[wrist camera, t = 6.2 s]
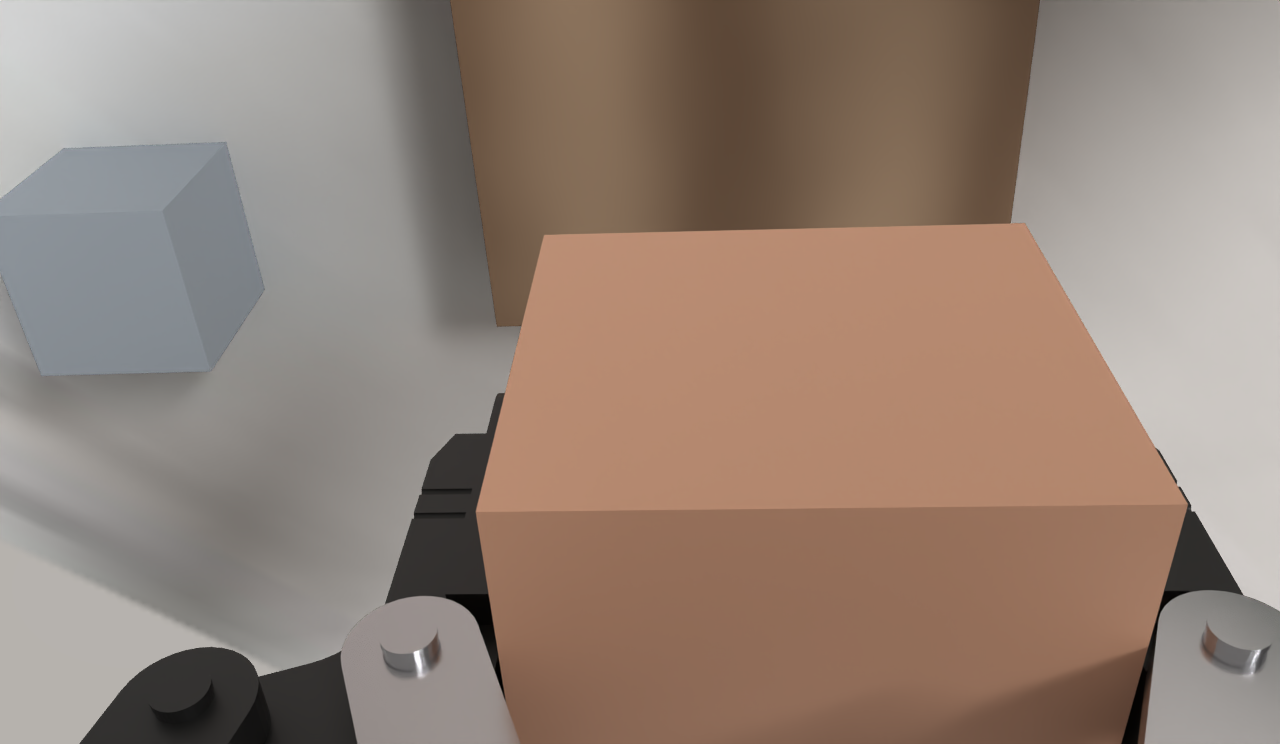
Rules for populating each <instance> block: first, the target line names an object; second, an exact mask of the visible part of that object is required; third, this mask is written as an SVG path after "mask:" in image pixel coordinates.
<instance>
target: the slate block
mask: <svg viewBox="0 0 1280 744" xmlns="http://www.w3.org/2000/svg"><path fill="white" fill-rule="evenodd" d="M0 273H1V276H2V278H3V281H4V283H5V286H6V288H7V291H8V293H9V296H10V298H11V301H12V303H13V306H14V308H15V311H16V313H17V316H18V319H19V321H20V324H21V326H22V329H23V331H24V334H25V336H26V339H27V341H28V344H29V346H30V349H31V351H32V354H33V356H34V359H35V361H36V364H37V366H38V369H39V371H40V374H41V376H59V375H96V374H133V373H171V372H208V371H212V369H213V368H214V366H215V364H216V363H217V361H218V360H219V358H220V357H221V355H222V354H223V352H224V351H225V349H226V348H227V346H228V345H229V343H230V342H231V340H232V339H233V337H234V335H235V334H236V332H237V331H238V329H239V328H240V326H241V325H242V323H243V322H244V320H245V319H246V317H247V316H248V314H249V313H250V311H251V310H252V308H253V306H254V305H255V303H256V302H257V300H258V299H259V297H260V296H261V294H262V293H263V291H264V290H265V289H264V285H263V282H262V278H261V274H260V270H259V266H258V262H257V259H256V255H255V251H254V247H253V243H252V239H251V236H250V232H249V228H248V224H247V220H246V216H245V213H244V209H243V205H242V201H241V197H240V193H239V190H238V186H237V182H236V178H235V174H234V170H233V166H232V163H231V159H230V155H229V151H228V147H227V143H226V142H218V143H192V144H166V145H139V146H113V147H87V148H64V149H62V150H61V151H60V152H59V153H57V154H56V155H55V156H54V157H52V158H51V159H50V160H49V161H47V162H46V163H45V164H44V165H42V166H41V167H40V168H39V169H37V170H36V171H35V172H34V173H32V174H31V175H30V176H29V177H27V178H26V179H25V180H24V181H22V182H21V183H20V184H19V185H17V186H16V187H15V188H14V189H12V190H11V191H10V192H9V193H7V194H6V195H5V196H4V197H2V198H1V199H0Z"/></svg>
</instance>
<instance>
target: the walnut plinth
mask: <svg viewBox="0 0 1280 744" xmlns="http://www.w3.org/2000/svg"><path fill="white" fill-rule="evenodd" d="M450 3H451V10H452V17H453V24H454V31H455V38H456V45H457V52H458V59H459V66H460V73H461V80H462V87H463V94H464V101H465V108H466V115H467V122H468V129H469V136H470V143H471V150H472V157H473V164H474V171H475V178H476V185H477V192H478V199H479V206H480V213H481V220H482V226H483V233H484V240H485V247H486V254H487V261H488V268H489V275H490V282H491V289H492V296H493V303H494V310H495V317H496V324H497V327H502V326H522V322H523V318H524V314H525V310H526V306H527V302H528V298H529V294H530V290H531V286H532V282H533V278H534V274H535V270H536V266H537V262H538V258H539V254H540V249H541V245H542V241H543V237H544V235H559V234H600V233H641V232H682V231H724V230H765V229H806V228H847V227H889V226H930V225H971V224H1010V223H1011V216H1012V208H1013V201H1014V193H1015V186H1016V178H1017V170H1018V163H1019V155H1020V148H1021V140H1022V133H1023V125H1024V117H1025V110H1026V102H1027V95H1028V87H1029V80H1030V72H1031V65H1032V57H1033V49H1034V42H1035V34H1036V27H1037V19H1038V12H1039V4H1040V0H450Z"/></svg>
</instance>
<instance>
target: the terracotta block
mask: <svg viewBox="0 0 1280 744" xmlns="http://www.w3.org/2000/svg"><path fill="white" fill-rule="evenodd" d="M1187 507H1188V503H1187V502H1186V500H1185V498H1184V497H1183V495H1182V493H1181V491H1180V490H1179V488H1178V486H1177V484H1176V483H1175V481H1174V479H1173V478H1172V476H1171V474H1170V472H1169V471H1168V469H1167V467H1166V465H1165V464H1164V462H1163V460H1162V459H1161V457H1160V455H1159V453H1158V452H1157V450H1156V448H1155V447H1154V445H1153V443H1152V441H1151V440H1150V438H1149V436H1148V434H1147V433H1146V431H1145V429H1144V428H1143V426H1142V424H1141V422H1140V421H1139V419H1138V417H1137V416H1136V414H1135V412H1134V410H1133V409H1132V407H1131V405H1130V403H1129V402H1128V400H1127V398H1126V397H1125V395H1124V393H1123V391H1122V390H1121V388H1120V386H1119V385H1118V383H1117V381H1116V379H1115V378H1114V376H1113V374H1112V372H1111V371H1110V369H1109V367H1108V366H1107V364H1106V362H1105V360H1104V359H1103V357H1102V355H1101V354H1100V352H1099V350H1098V348H1097V347H1096V345H1095V343H1094V341H1093V340H1092V338H1091V336H1090V335H1089V333H1088V331H1087V329H1086V328H1085V326H1084V324H1083V322H1082V321H1081V319H1080V317H1079V316H1078V314H1077V312H1076V310H1075V309H1074V307H1073V305H1072V304H1071V302H1070V300H1069V298H1068V297H1067V295H1066V293H1065V291H1064V290H1063V288H1062V286H1061V285H1060V283H1059V281H1058V279H1057V278H1056V276H1055V274H1054V273H1053V271H1052V269H1051V267H1050V266H1049V264H1048V262H1047V260H1046V259H1045V257H1044V255H1043V254H1042V252H1041V250H1040V248H1039V247H1038V245H1037V243H1036V242H1035V240H1034V238H1033V236H1032V235H1031V233H1030V231H1029V229H1028V228H1027V226H1026V224H1025V223H1012V224H971V225H930V226H889V227H847V228H806V229H765V230H724V231H682V232H641V233H600V234H559V235H544V237H543V241H542V245H541V249H540V254H539V258H538V262H537V266H536V270H535V274H534V278H533V282H532V286H531V290H530V294H529V298H528V302H527V306H526V310H525V314H524V318H523V322H522V326H521V330H520V335H519V339H518V343H517V347H516V351H515V355H514V359H513V363H512V367H511V371H510V375H509V379H508V383H507V387H506V391H505V395H504V399H503V403H502V407H501V412H500V416H499V420H498V424H497V428H496V432H495V436H494V440H493V444H492V448H491V452H490V456H489V460H488V464H487V468H486V472H485V476H484V480H483V484H482V489H481V493H480V497H479V501H478V505H477V509H476V517H477V523H478V530H479V536H480V542H481V549H482V555H483V561H484V567H485V574H486V580H487V586H488V593H489V599H490V605H491V612H492V618H493V624H494V630H495V637H496V643H497V649H498V656H499V662H500V668H501V675H502V681H503V687H504V693H505V700H506V704H507V707H508V710H509V713H510V716H511V718H512V721H513V724H514V727H515V730H516V732H517V735H518V738H519V741H520V744H1121V743H1122V739H1123V735H1124V732H1125V728H1126V725H1127V721H1128V718H1129V714H1130V710H1131V707H1132V703H1133V700H1134V696H1135V693H1136V689H1137V685H1138V682H1139V678H1140V675H1141V671H1142V667H1143V664H1144V660H1145V657H1146V653H1147V650H1148V646H1149V642H1150V639H1151V635H1152V632H1153V628H1154V625H1155V621H1156V617H1157V614H1158V610H1159V607H1160V603H1161V600H1162V596H1163V592H1164V589H1165V585H1166V582H1167V578H1168V574H1169V571H1170V567H1171V564H1172V560H1173V557H1174V553H1175V549H1176V546H1177V542H1178V539H1179V535H1180V532H1181V528H1182V524H1183V521H1184V517H1185V514H1186V510H1187Z"/></svg>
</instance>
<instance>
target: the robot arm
mask: <svg viewBox="0 0 1280 744" xmlns="http://www.w3.org/2000/svg"><path fill="white" fill-rule="evenodd" d="M504 395H505V393H498V394H497V396H496V399H495V402H494V406H493V410H492V414H491V418H490V422H489V426H488V430H487V433H486V434H455V435H454V436H453V437H452V438H451V439H450V440H449V441H448V442H447V444H446V445H445V446H444V447H443V448H442V449H441V450H440V451H439V452H438V453H437V454H436V455H435V456H434V457H433V458H432V459H431V461H430V464H429V467H428V470H427V473H426V477H425V480H424V483H423V486H422V495H419V499H418V502H417V505H416V508H415V511H414V519H412V521H411V524H410V527H409V530H408V533H407V536H406V540H405V543H404V546H403V549H402V552H401V555H400V558H399V562H398V565H397V568H396V571H395V574H394V577H393V581H392V584H391V587H390V590H389V593H388V596H387V599H386V603H385V605H383V606H381V607H379V608H377V609H375V610H374V611H372V612H370V613H369V614H367V615H366V616H365V617H364V618H362V619H361V620H360V621H359V622H358V623H357V624H356V625H355V626H354V627H353V629H352V630H351V631H350V633H349V634H348V636H347V637H346V639H345V642H344V644H343V647H342V651H340V652H338V653H337V654H335V655H332V656H330V657H328V658H325V659H323V660H320V661H316V662H313V663H310V664H306V665H302V666H298V667H295V668H291V669H287V670H283V671H279V672H275V673H271V674H267V675H264V676H260V677H258V675H257V672H256V670H255V668H254V666H253V665H252V663H251V662H250V661H249V660H248V659H247V658H246V657H244V656H243V655H241V654H239V653H237V652H235V651H233V650H229V649H224V648H216V647H205V648H195V649H190V650H185V651H182V652H179V653H175V654H173V655H170V656H168V657H165V658H163V659H161V660H159V661H157V662H155V663H153V664H152V665H150V666H148V667H147V668H145V669H144V670H143V671H141V672H140V673H138V674H137V675H136V676H135V677H134V678H133V679H132V680H130V681H129V683H127V685H126V686H125V687H124V688H123V689H122V690H121V691H120V693H119V694H118V695H117V697H116V698H115V699H114V700H113V702H112V703H111V704H110V706H109V707H108V708H107V709H106V711H105V712H104V713H103V714H102V716H101V717H100V718H99V719H98V721H97V722H96V723H95V725H94V726H93V727H92V728H91V730H90V731H89V732H88V733H87V735H86V736H85V737H84V739H83V740H82V741H81V742H80V744H520V741H519V738H518V735H517V732H516V730H515V727H514V724H513V721H512V718H511V716H510V713H509V710H508V707H507V704H506V700H505V693H504V687H503V681H502V675H501V668H500V662H499V656H498V649H497V643H496V637H495V630H494V624H493V618H492V612H491V605H490V599H489V593H488V586H487V580H486V574H485V567H484V561H483V555H482V549H481V542H480V536H479V530H478V523H477V517H476V509H477V505H478V501H479V497H480V493H481V489H482V484H483V480H484V476H485V472H486V468H487V464H488V460H489V456H490V452H491V448H492V444H493V440H494V436H495V432H496V428H497V424H498V420H499V416H500V412H501V407H502V403H503V399H504ZM1156 450H1157V452H1158V453H1159V455H1160V457H1161V459H1162V460H1163V462H1164V464H1165V465H1166V467H1167V469H1168V471H1169V472H1170V474H1171V476H1172V478H1173V479H1174V481H1175V483H1176V484H1177V480H1176V478H1175V477H1174V475H1173V473H1172V472H1171V470H1170V468H1169V466H1168V465H1167V463H1166V461H1165V460H1164V458H1163V456H1162V454H1161V453H1160V451H1159V450H1158V449H1156ZM1178 488H1179V490H1180V491H1181V493H1182V495H1183V497H1184V498H1185V500H1186V502H1187V503H1188V507H1187V510H1186V514H1185V517H1184V521H1183V524H1182V528H1181V532H1180V535H1179V539H1178V542H1177V546H1176V549H1175V553H1174V557H1173V560H1172V564H1171V567H1170V571H1169V574H1168V578H1167V582H1166V585H1165V589H1164V592H1163V596H1162V600H1161V603H1160V607H1159V610H1158V614H1157V617H1156V621H1155V625H1154V628H1153V632H1152V635H1151V639H1150V642H1149V646H1148V650H1147V653H1146V657H1145V660H1144V664H1143V667H1142V671H1141V675H1140V678H1139V682H1138V685H1137V689H1136V693H1135V696H1134V700H1133V703H1132V707H1131V710H1130V714H1129V718H1128V721H1127V725H1126V728H1125V732H1124V735H1123V739H1122V743H1121V744H1280V612H1279V611H1278V610H1276V609H1275V608H1273V607H1271V606H1269V605H1267V604H1265V603H1263V602H1260V601H1258V600H1255V599H1253V598H1250V597H1247V596H1244V595H1243V593H1242V592H1241V590H1240V588H1239V587H1238V585H1237V583H1236V581H1235V580H1234V578H1233V576H1232V575H1231V573H1230V571H1229V569H1228V568H1227V566H1226V564H1225V563H1224V561H1223V559H1222V557H1221V556H1220V554H1219V552H1218V551H1217V549H1216V547H1215V545H1214V544H1213V542H1212V540H1211V539H1210V537H1209V535H1208V533H1207V532H1206V530H1205V528H1204V527H1203V525H1202V523H1201V521H1200V520H1199V518H1198V516H1197V514H1196V513H1195V512H1192V511H1191V504H1190V502H1189V501H1188V499H1187V497H1186V496H1185V494H1184V492H1183V490H1182V489H1181V487H1178Z"/></svg>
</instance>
